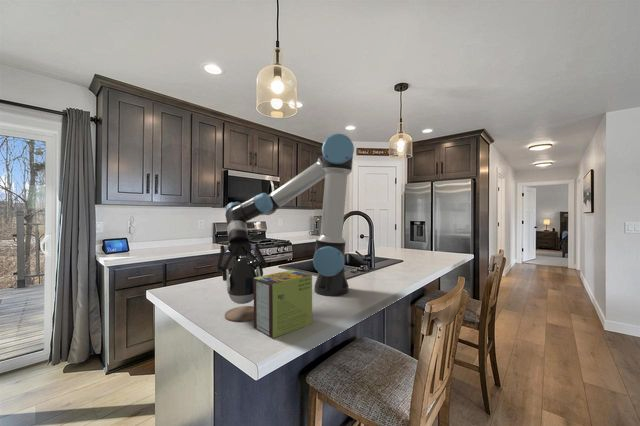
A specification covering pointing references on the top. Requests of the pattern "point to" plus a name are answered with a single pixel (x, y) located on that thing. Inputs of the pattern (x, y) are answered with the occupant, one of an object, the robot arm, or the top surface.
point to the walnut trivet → (240, 314)
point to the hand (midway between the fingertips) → (244, 286)
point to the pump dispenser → (242, 281)
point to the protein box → (282, 302)
